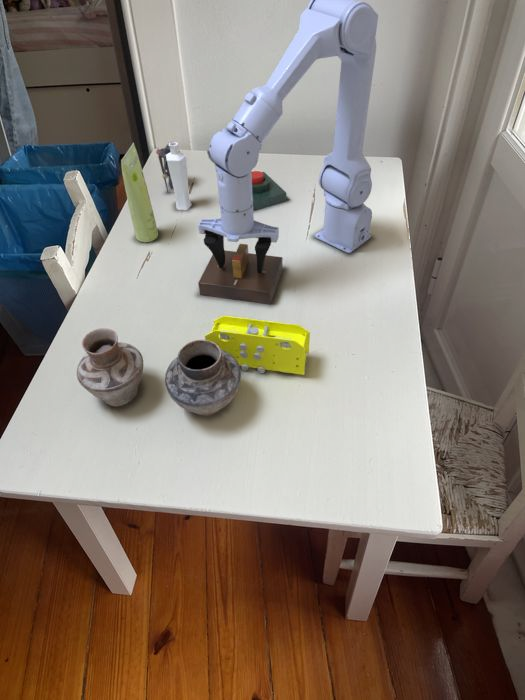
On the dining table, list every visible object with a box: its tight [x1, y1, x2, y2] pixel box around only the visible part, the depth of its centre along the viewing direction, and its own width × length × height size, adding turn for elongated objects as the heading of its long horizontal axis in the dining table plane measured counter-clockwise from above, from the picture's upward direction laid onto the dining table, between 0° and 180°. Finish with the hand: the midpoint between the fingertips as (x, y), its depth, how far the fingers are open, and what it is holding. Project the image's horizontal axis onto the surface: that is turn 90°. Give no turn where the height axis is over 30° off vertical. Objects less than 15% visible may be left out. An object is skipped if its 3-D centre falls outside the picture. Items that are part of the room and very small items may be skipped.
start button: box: [251, 170, 264, 184], centre depth 115 cm, size 4×4×2 cm
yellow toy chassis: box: [204, 315, 311, 376], centre depth 78 cm, size 16×6×8 cm, turn 78°
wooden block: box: [232, 243, 249, 278], centre depth 92 cm, size 6×2×4 cm, turn 166°
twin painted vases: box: [76, 327, 242, 416], centre depth 72 cm, size 11×25×12 cm, turn 82°
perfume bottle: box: [166, 141, 192, 211], centre depth 111 cm, size 5×4×15 cm
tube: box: [120, 142, 159, 243], centre depth 100 cm, size 6×5×20 cm
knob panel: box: [197, 249, 283, 305], centre depth 95 cm, size 14×11×3 cm
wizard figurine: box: [155, 141, 181, 193], centre depth 118 cm, size 8×6×12 cm
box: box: [252, 171, 287, 211], centre depth 117 cm, size 12×10×4 cm
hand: (241, 267), depth 93 cm, fingers open, 7 cm apart
